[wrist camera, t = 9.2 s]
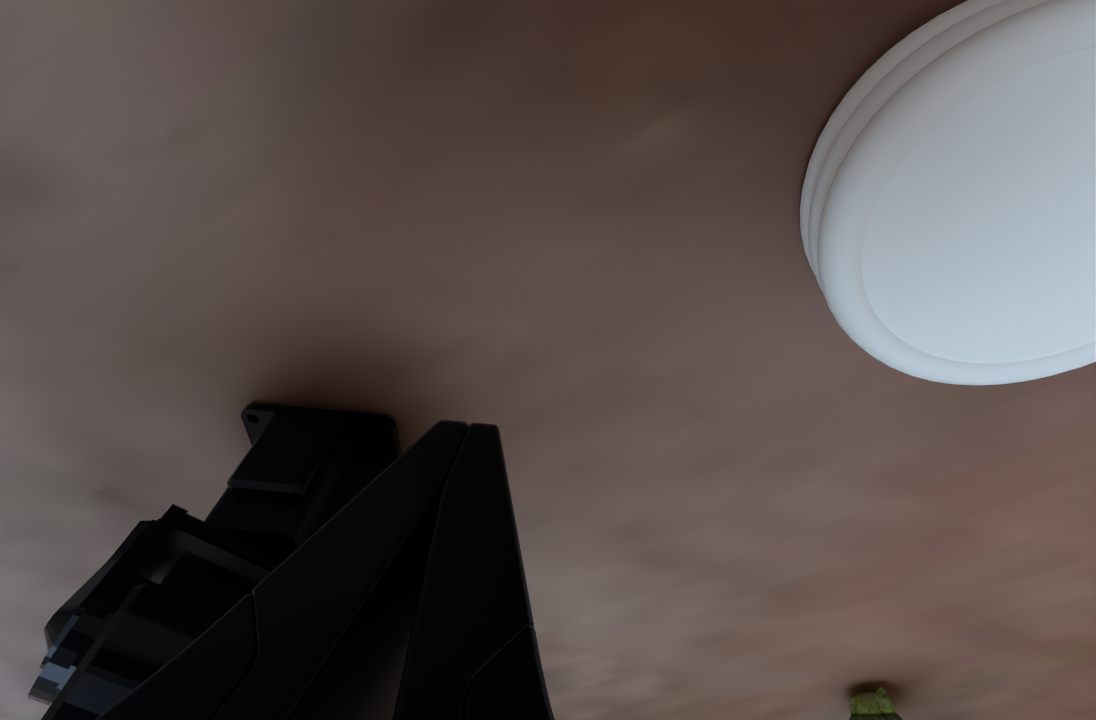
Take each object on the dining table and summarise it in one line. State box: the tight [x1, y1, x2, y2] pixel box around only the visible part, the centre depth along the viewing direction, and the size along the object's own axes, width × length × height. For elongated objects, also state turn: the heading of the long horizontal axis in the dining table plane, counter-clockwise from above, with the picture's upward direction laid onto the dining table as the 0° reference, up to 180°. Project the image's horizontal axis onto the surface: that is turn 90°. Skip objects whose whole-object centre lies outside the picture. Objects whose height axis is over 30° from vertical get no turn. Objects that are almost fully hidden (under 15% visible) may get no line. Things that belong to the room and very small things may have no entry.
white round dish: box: [800, 0, 1096, 385], centre depth 16 cm, size 10×10×4 cm
